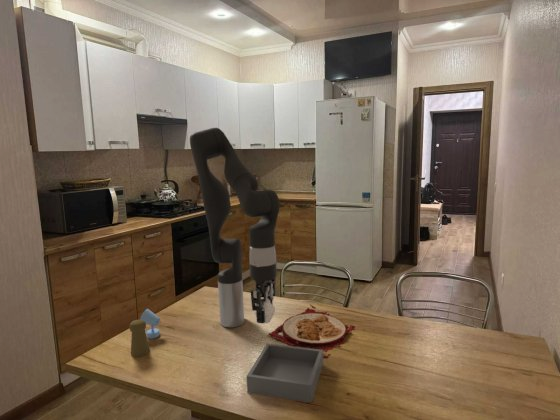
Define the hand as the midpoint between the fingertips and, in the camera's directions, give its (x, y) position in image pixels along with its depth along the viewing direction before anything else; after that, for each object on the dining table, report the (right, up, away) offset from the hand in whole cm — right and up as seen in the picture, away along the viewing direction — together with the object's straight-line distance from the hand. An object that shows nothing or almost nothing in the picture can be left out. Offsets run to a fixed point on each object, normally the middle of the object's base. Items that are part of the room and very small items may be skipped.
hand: (265, 317), depth 109 cm
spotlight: (-43, -15, +30) cm, 54 cm away
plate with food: (+18, -14, +29) cm, 37 cm away
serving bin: (+6, -18, +1) cm, 19 cm away
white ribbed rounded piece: (0, -1, 0) cm, 1 cm away
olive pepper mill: (-43, -17, +19) cm, 50 cm away
